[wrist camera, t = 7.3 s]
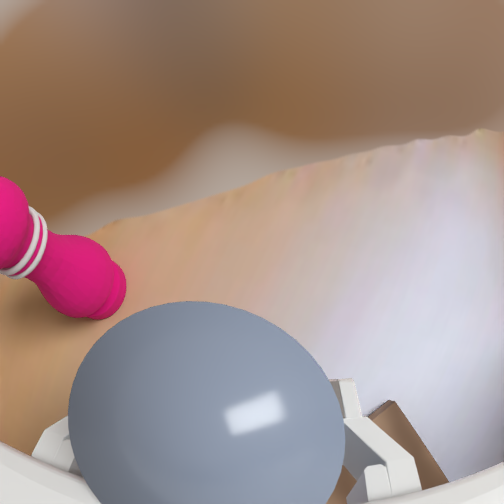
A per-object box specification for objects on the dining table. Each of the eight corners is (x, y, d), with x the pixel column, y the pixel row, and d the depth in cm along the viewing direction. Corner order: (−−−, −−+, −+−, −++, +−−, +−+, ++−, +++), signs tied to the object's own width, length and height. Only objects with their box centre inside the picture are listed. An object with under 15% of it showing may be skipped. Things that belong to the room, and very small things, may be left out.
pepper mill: (106, 339, 27) (-69, 282, 9) (61, 298, 29) (-88, 221, 10) (144, 278, 29) (3, 155, 11) (97, 243, 31) (-30, 126, 12)
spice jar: (259, 323, 16) (238, 247, 6) (316, 405, 15) (396, 474, 4) (175, 374, 16) (33, 377, 5) (228, 457, 14) (163, 578, 4)
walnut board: (388, 399, 24) (395, 401, 22) (442, 479, 20) (450, 483, 19) (257, 487, 22) (257, 494, 20) (325, 560, 18) (327, 568, 17)
